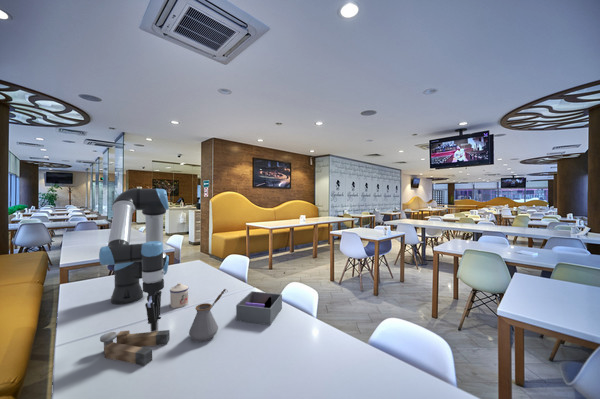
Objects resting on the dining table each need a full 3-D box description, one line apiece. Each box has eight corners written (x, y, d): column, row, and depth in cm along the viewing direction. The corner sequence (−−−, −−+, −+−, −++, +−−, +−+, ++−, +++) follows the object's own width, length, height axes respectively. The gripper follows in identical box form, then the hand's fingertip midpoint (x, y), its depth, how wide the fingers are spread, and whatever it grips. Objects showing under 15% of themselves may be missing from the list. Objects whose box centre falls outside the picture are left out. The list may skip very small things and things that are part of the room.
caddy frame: (236, 320, 118) (236, 305, 118) (251, 304, 135) (251, 291, 135) (270, 325, 114) (270, 309, 114) (282, 308, 131) (282, 294, 131)
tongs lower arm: (96, 356, 92) (95, 344, 92) (109, 348, 97) (109, 336, 97) (144, 366, 87) (144, 353, 87) (156, 356, 92) (156, 344, 92)
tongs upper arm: (97, 355, 92) (96, 340, 92) (106, 345, 98) (106, 331, 98) (164, 348, 97) (164, 333, 97) (169, 339, 103) (169, 325, 103)
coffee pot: (205, 347, 98) (205, 309, 97) (182, 341, 102) (182, 305, 101) (236, 321, 118) (236, 289, 118) (216, 317, 122) (216, 286, 121)
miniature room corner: (266, 319, 120) (266, 305, 120) (243, 317, 122) (243, 303, 122) (273, 308, 132) (273, 295, 131) (252, 306, 134) (252, 293, 134)
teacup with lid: (182, 308, 130) (182, 286, 130) (166, 307, 131) (165, 285, 131) (194, 299, 142) (194, 279, 142) (179, 298, 143) (179, 278, 143)
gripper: (158, 284, 96) (160, 344, 97) (167, 274, 109) (169, 327, 109) (136, 286, 94) (138, 347, 95) (148, 275, 107) (149, 329, 108)
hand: (155, 336), depth 102 cm, fingers closed
